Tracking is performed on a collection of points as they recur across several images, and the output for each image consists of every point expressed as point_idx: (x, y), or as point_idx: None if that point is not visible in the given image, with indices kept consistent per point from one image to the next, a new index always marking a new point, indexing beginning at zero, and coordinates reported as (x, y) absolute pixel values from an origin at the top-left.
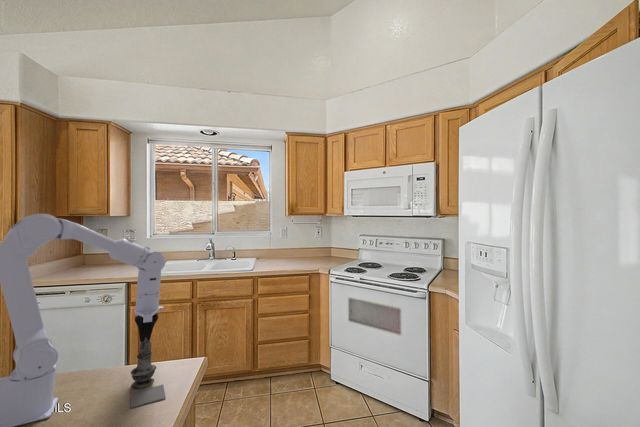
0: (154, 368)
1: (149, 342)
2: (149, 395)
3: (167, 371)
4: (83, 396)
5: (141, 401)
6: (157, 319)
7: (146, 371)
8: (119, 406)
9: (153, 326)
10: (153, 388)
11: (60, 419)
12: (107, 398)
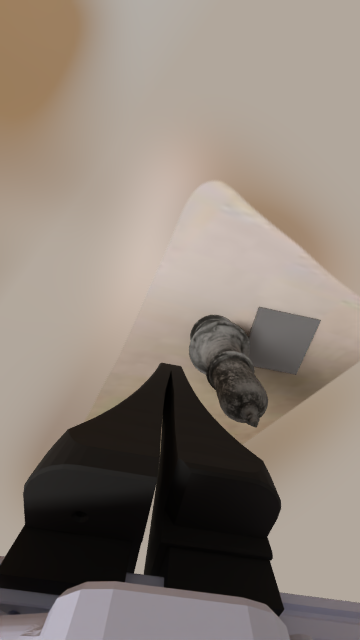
0: (236, 329)
1: (263, 397)
2: (283, 341)
3: (191, 276)
4: None
5: (292, 357)
6: (261, 463)
7: (243, 350)
8: (269, 384)
9: (212, 417)
10: (260, 328)
11: None
12: None
